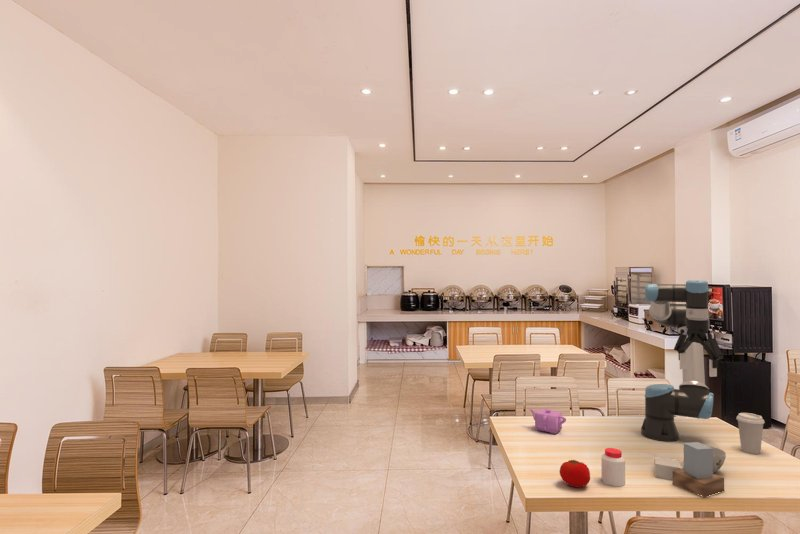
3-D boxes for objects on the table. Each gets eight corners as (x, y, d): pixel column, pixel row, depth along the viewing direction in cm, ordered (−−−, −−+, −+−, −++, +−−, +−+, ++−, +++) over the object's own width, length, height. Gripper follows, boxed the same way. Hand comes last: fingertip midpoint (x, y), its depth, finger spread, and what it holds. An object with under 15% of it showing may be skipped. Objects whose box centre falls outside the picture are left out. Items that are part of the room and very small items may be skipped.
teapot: (523, 430, 219) (523, 409, 219) (533, 422, 230) (533, 402, 230) (562, 438, 208) (562, 415, 208) (570, 430, 219) (570, 408, 220)
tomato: (595, 490, 157) (595, 466, 157) (566, 491, 156) (566, 466, 156) (582, 478, 166) (582, 455, 166) (555, 479, 165) (555, 456, 165)
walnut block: (672, 485, 162) (672, 471, 162) (692, 479, 167) (691, 465, 167) (704, 499, 152) (704, 483, 152) (724, 492, 157) (724, 477, 157)
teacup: (734, 474, 170) (734, 453, 170) (710, 479, 166) (710, 457, 166) (696, 459, 184) (695, 439, 184) (673, 463, 180) (673, 443, 180)
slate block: (683, 471, 162) (683, 443, 162) (698, 470, 163) (698, 442, 163) (697, 478, 156) (697, 449, 156) (712, 477, 157) (712, 448, 157)
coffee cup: (770, 456, 188) (769, 419, 188) (744, 454, 190) (743, 418, 190) (757, 447, 197) (756, 412, 197) (732, 446, 199) (731, 411, 199)
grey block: (655, 477, 168) (655, 463, 168) (654, 469, 175) (654, 456, 175) (680, 481, 164) (680, 467, 164) (678, 473, 171) (678, 460, 171)
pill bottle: (597, 477, 167) (597, 446, 168) (617, 476, 168) (617, 446, 168) (608, 486, 160) (608, 455, 160) (629, 486, 160) (629, 454, 161)
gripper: (664, 316, 193) (664, 366, 192) (718, 322, 168) (718, 380, 168) (678, 315, 194) (679, 365, 194) (734, 322, 170) (735, 379, 170)
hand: (697, 372), depth 181 cm, fingers open, 13 cm apart
